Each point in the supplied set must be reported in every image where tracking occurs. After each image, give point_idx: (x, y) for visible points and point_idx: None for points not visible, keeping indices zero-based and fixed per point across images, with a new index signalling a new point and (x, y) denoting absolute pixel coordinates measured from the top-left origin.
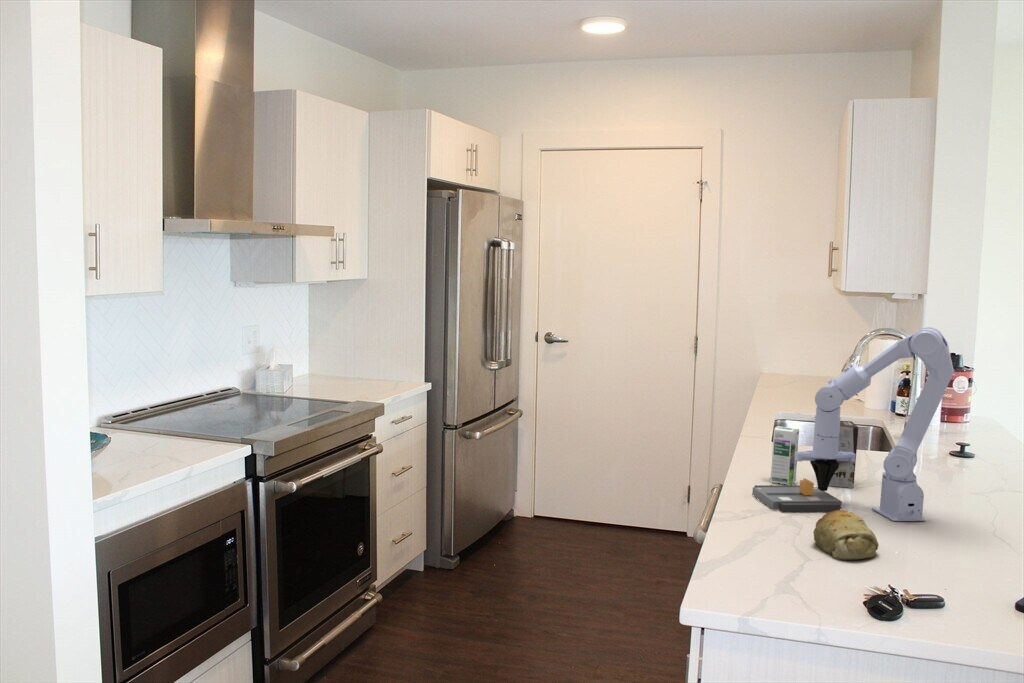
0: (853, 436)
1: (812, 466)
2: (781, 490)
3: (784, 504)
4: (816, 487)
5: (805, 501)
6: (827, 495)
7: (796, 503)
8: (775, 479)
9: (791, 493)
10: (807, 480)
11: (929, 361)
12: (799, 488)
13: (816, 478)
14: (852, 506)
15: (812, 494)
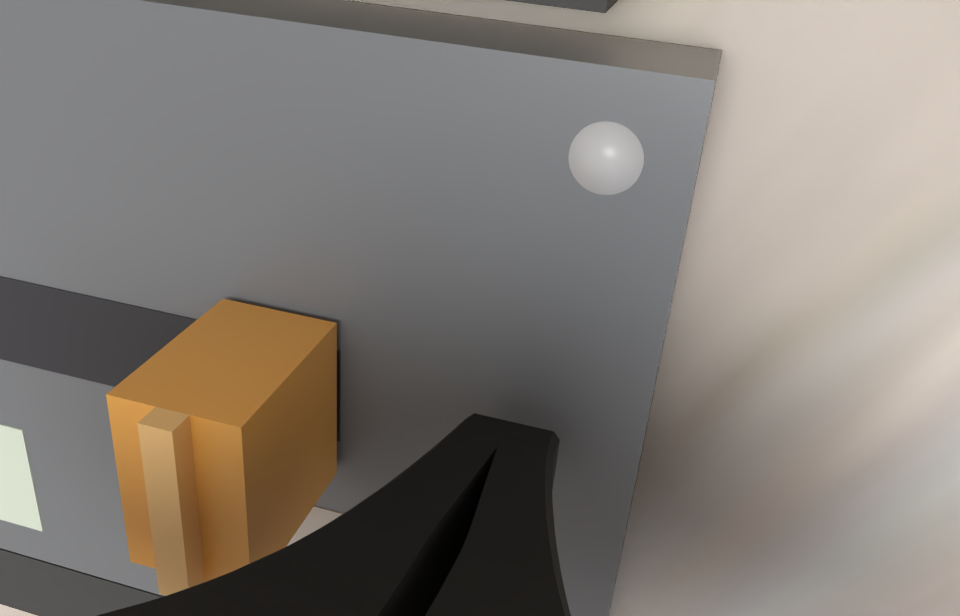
0: None
1: (178, 605)
2: (12, 161)
3: None
4: (673, 99)
5: (160, 594)
6: (559, 509)
7: (63, 586)
8: None
9: (101, 321)
10: (158, 547)
11: None
12: (320, 105)
13: (381, 494)
14: (848, 606)
15: (326, 477)
